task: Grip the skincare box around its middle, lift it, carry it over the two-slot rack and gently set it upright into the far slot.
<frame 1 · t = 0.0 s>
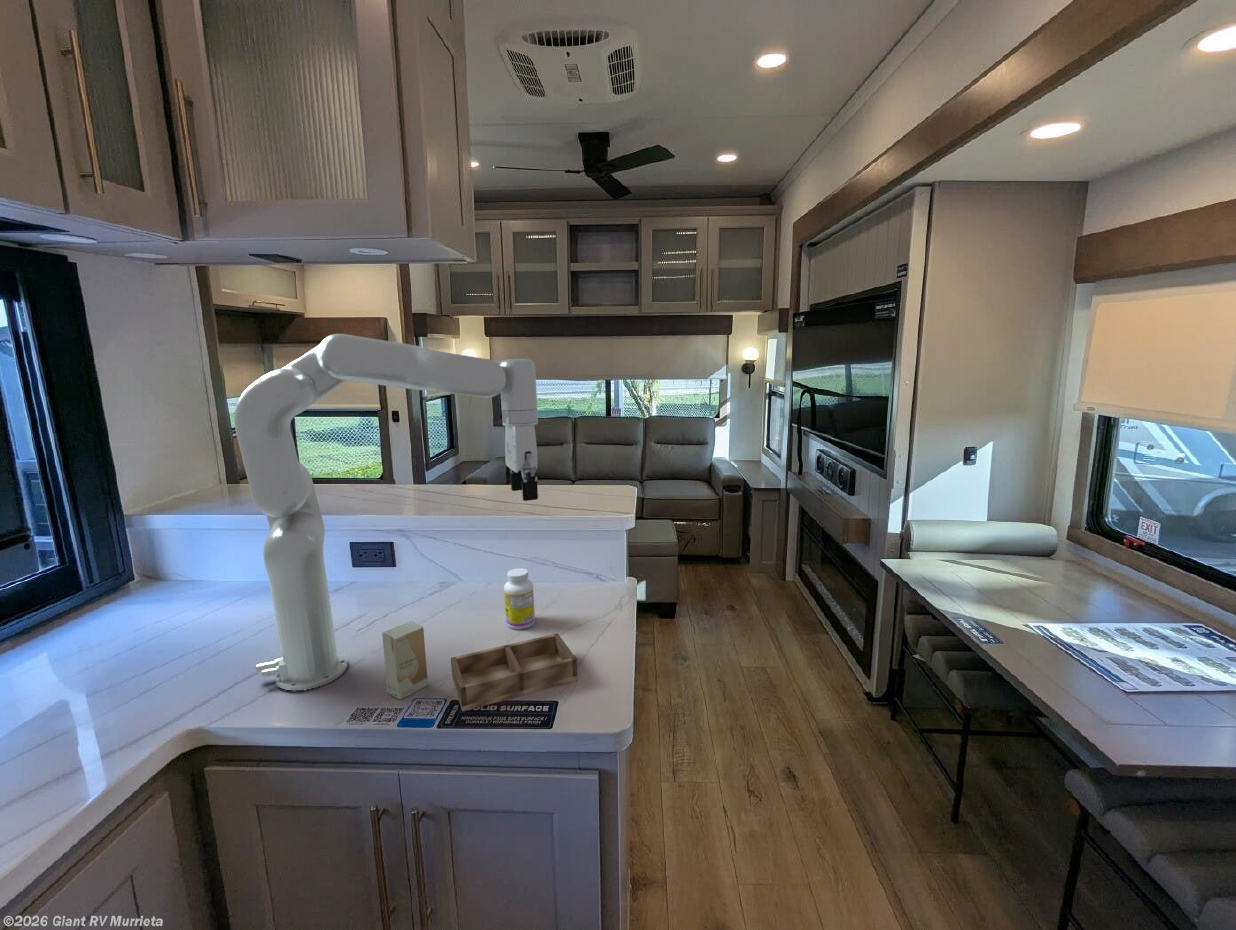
hand: (524, 494, 125), 31 cm above the worktop, tool pointing down, fingers open, 9 cm apart
skincare box: (408, 689, 108), on the worktop
rack: (514, 679, 110), on the worktop
supplement bottle: (520, 624, 132), on the worktop
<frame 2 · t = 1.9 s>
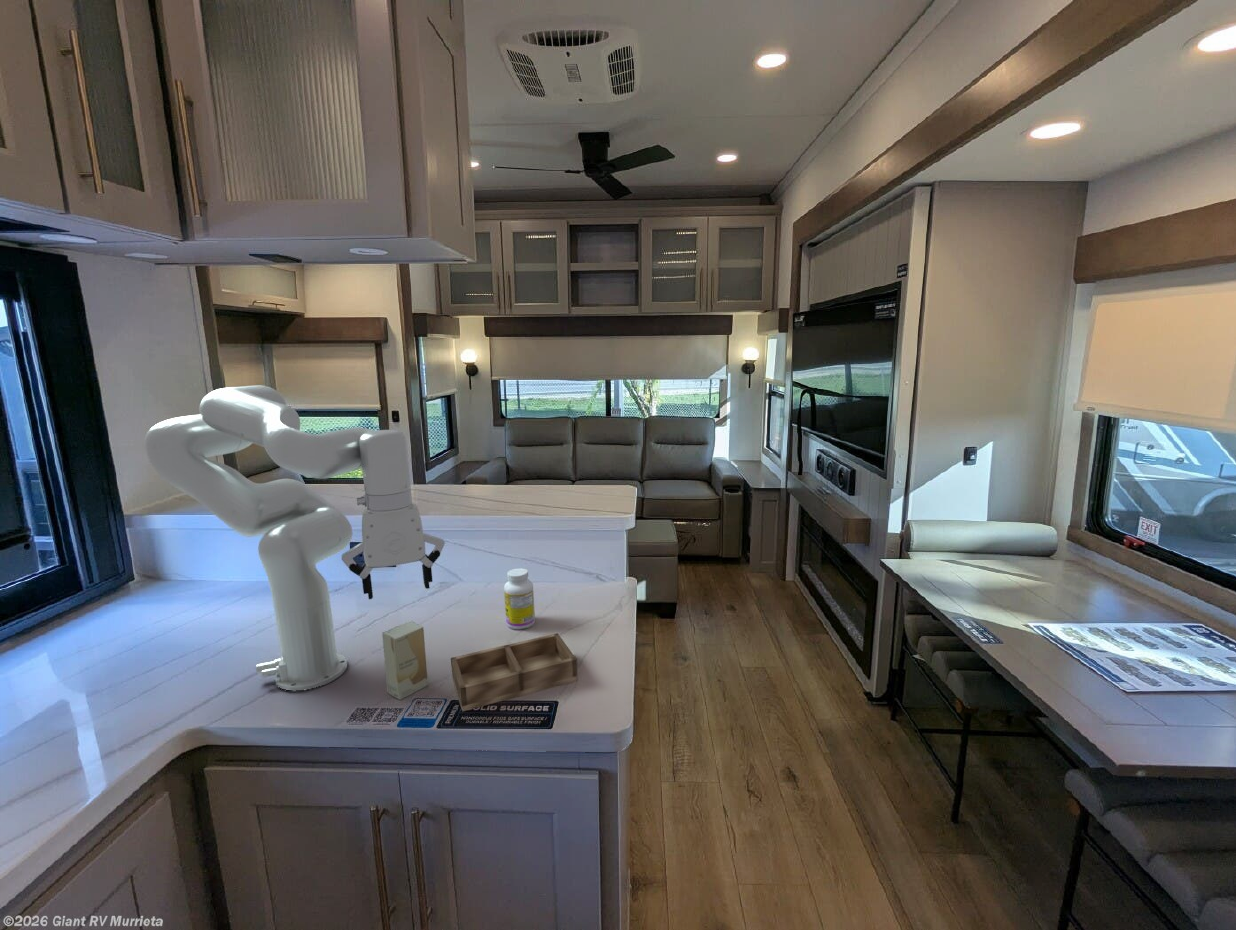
hand: (399, 591, 104), 20 cm above the worktop, tool pointing down, fingers open, 9 cm apart
nothing on the worktop moved.
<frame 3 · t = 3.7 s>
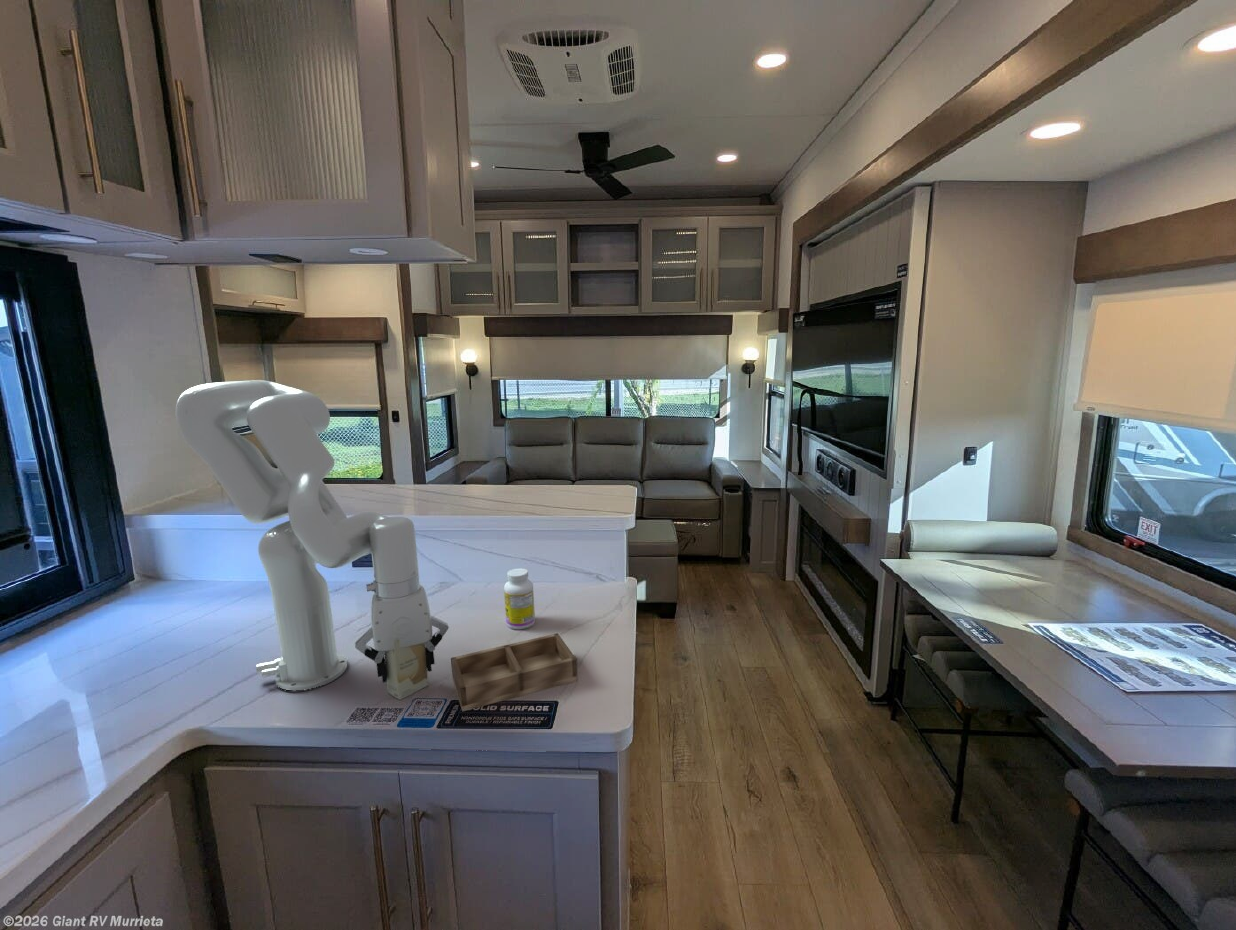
hand: (407, 672, 107), 3 cm above the worktop, tool pointing down, fingers closed on skincare box, 7 cm apart
skincare box: (409, 689, 108), on the worktop, touching gripper
everything else where it was.
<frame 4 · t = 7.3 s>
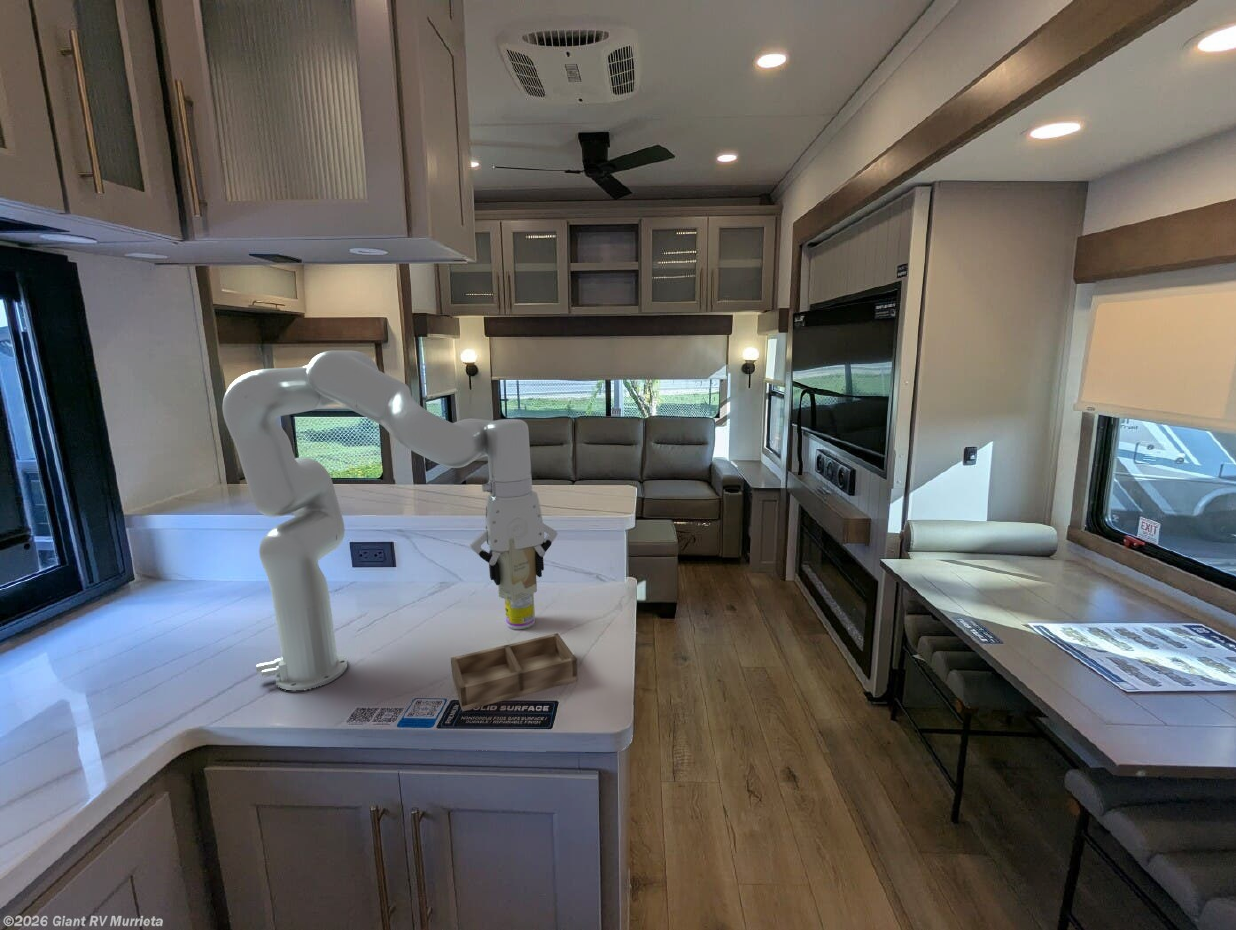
hand: (517, 577, 107), 20 cm above the worktop, tool pointing down, fingers closed on skincare box, 7 cm apart
skincare box: (518, 595, 108), point 17 cm above the worktop, touching gripper
everything else where it was.
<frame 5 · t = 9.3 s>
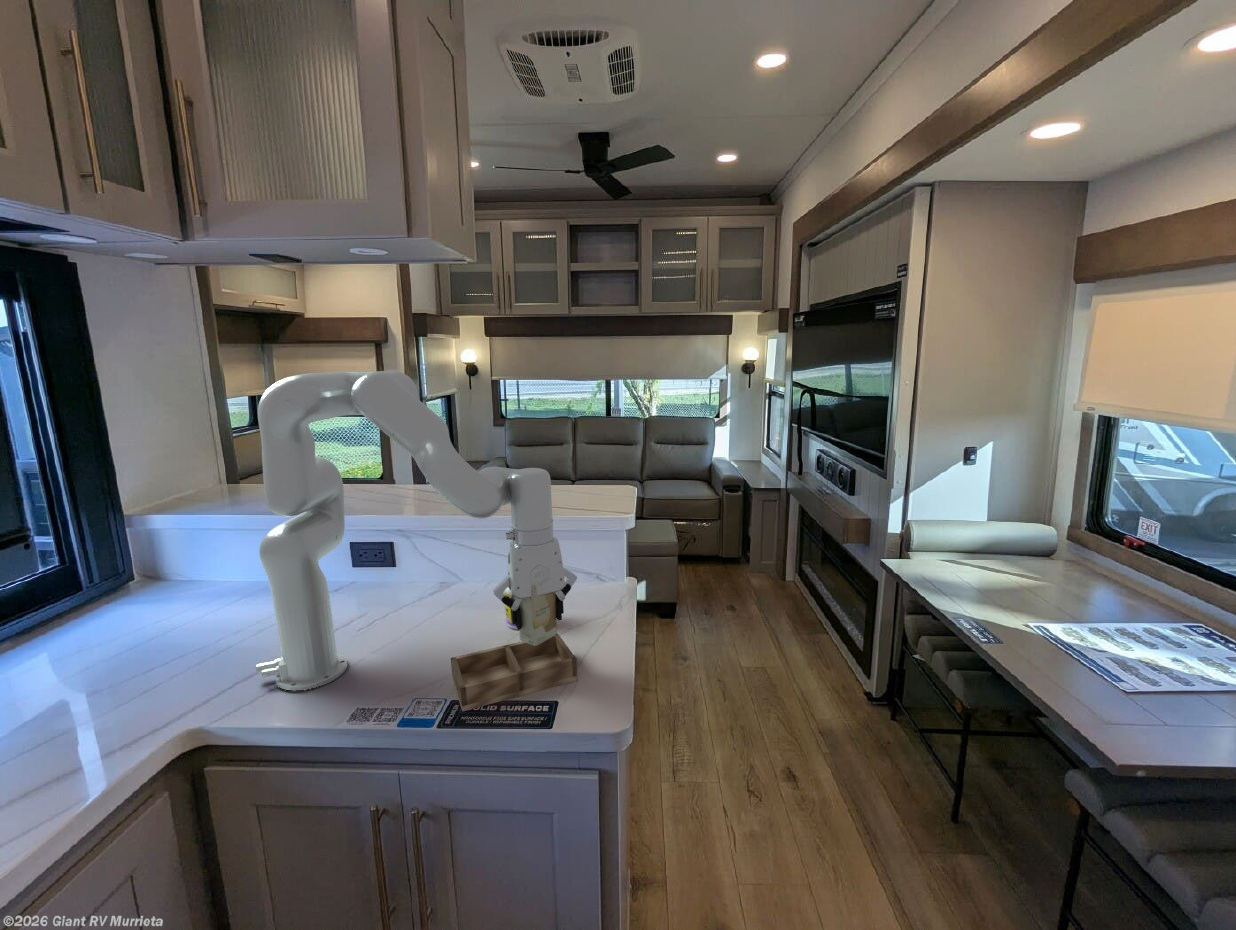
hand: (538, 621, 110), 11 cm above the worktop, tool pointing down, fingers closed on skincare box, 7 cm apart
skincare box: (539, 638, 110), point 7 cm above the worktop, touching gripper
everything else where it was.
when the fingers open (6 cm above the worktop, at t = 10.8 s): skincare box drops 2 cm, resting on rack.
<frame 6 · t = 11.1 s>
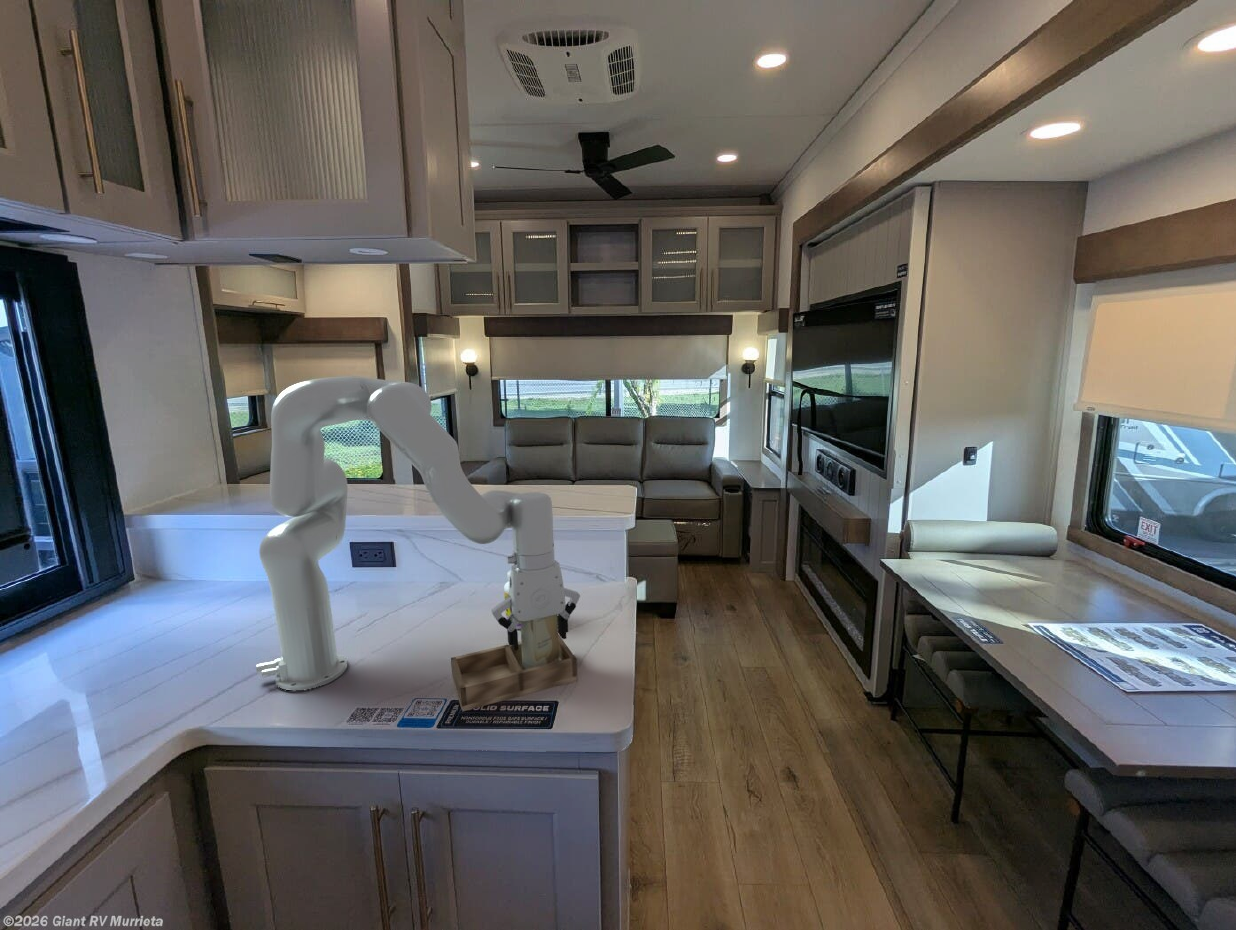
hand: (538, 641, 111), 7 cm above the worktop, tool pointing down, fingers open, 9 cm apart
skincare box: (541, 668, 112), point 1 cm above the worktop, touching rack
everything else where it was.
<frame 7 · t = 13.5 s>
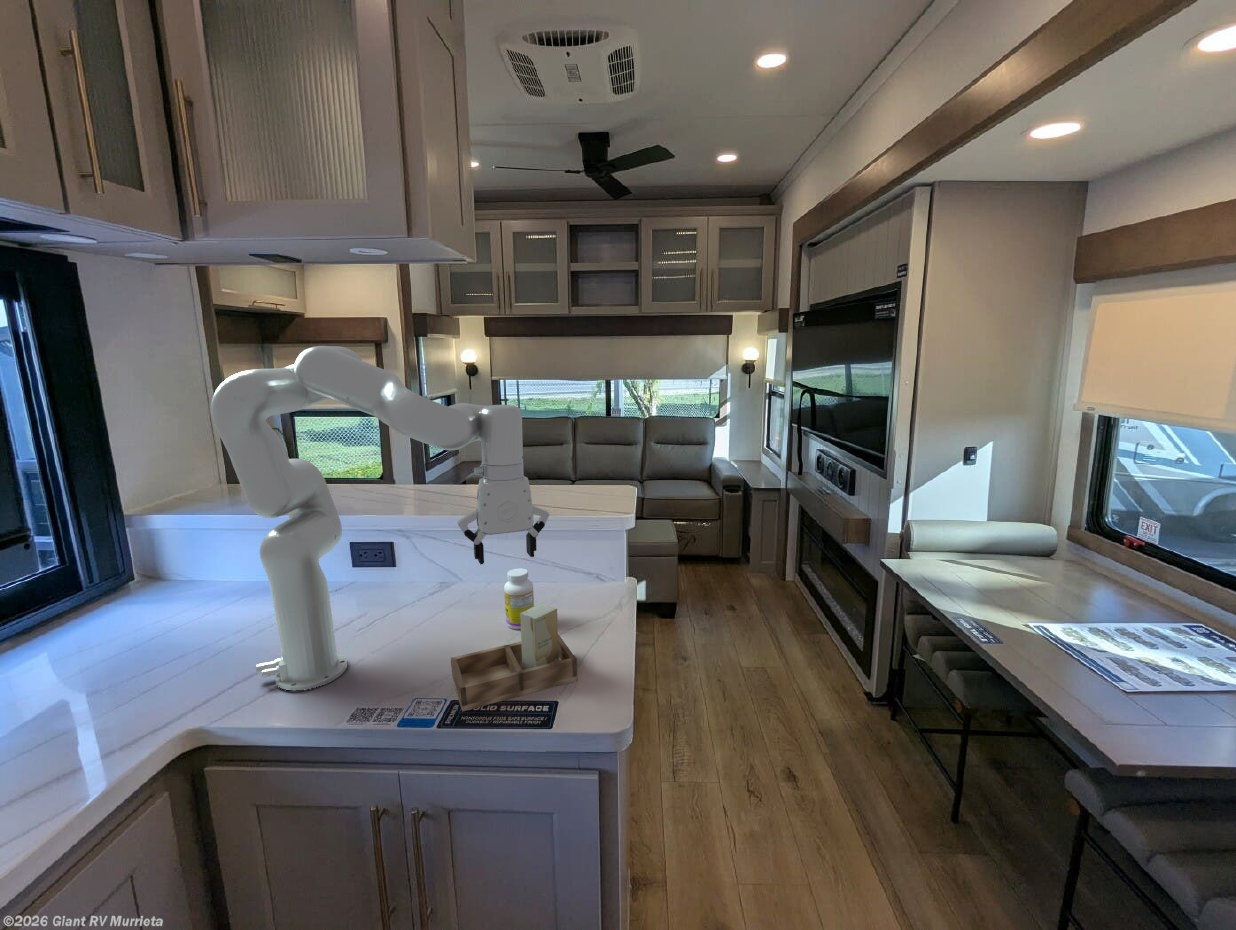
hand: (506, 558, 109), 23 cm above the worktop, tool pointing down, fingers open, 9 cm apart
nothing on the worktop moved.
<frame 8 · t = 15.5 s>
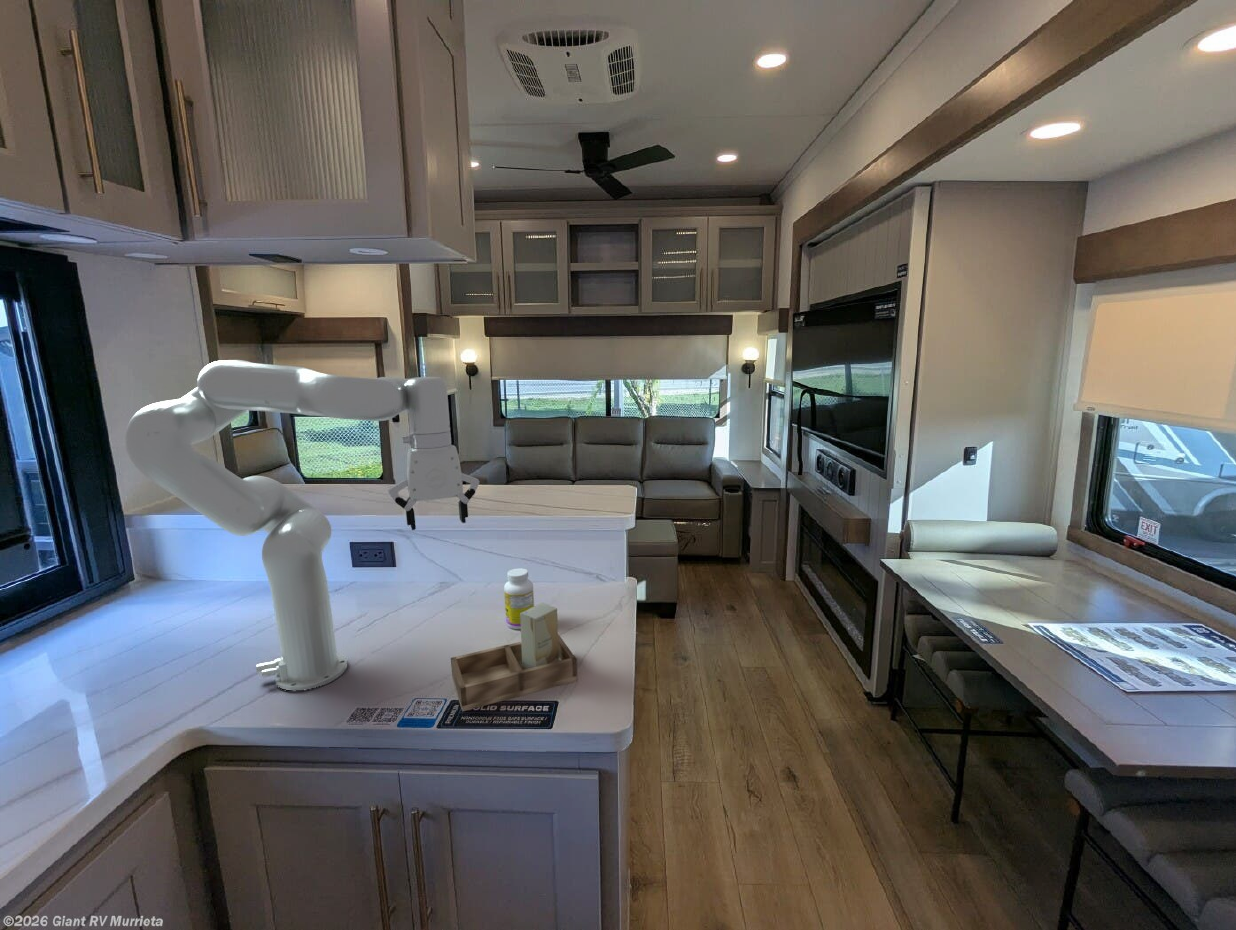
hand: (438, 524, 114), 28 cm above the worktop, tool pointing down, fingers open, 9 cm apart
nothing on the worktop moved.
at the end: skincare box 0.3 cm from the target spot on the rack, point 0.8 cm above the rack's base; skincare box tilted 0°; the gripper is holding nothing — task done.
